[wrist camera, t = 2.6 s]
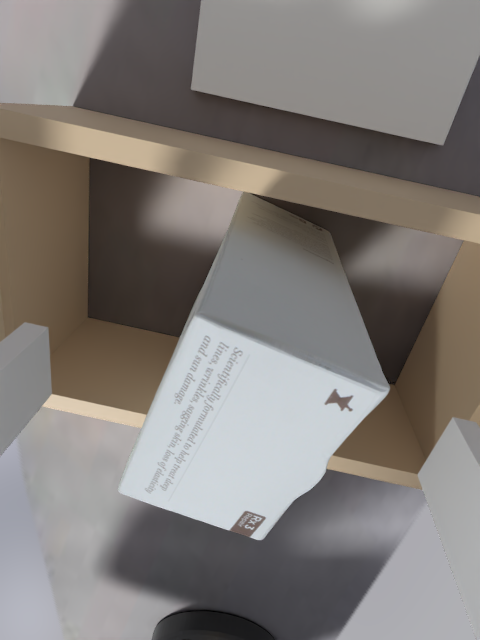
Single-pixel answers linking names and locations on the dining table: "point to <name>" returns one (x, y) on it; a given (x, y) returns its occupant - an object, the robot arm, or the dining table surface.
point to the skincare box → (258, 379)
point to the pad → (343, 59)
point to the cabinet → (157, 349)
